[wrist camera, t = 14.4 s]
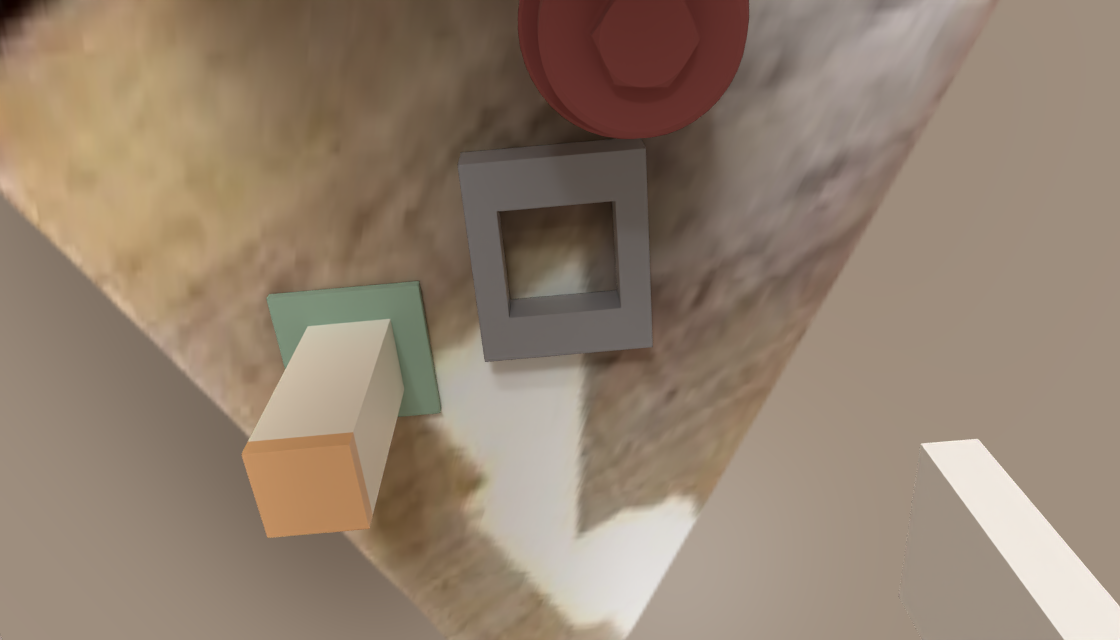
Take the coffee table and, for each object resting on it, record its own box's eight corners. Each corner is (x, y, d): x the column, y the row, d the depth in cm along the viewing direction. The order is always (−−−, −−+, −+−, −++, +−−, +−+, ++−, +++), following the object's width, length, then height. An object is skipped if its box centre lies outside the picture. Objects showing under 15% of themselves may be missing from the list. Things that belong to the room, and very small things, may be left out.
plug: (307, 326, 50) (241, 454, 38) (390, 318, 50) (348, 444, 38) (325, 396, 52) (267, 537, 40) (404, 389, 52) (369, 528, 40)
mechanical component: (723, -100, 41) (700, 105, 45) (520, -109, 40) (517, 99, 45) (796, -102, 30) (756, 168, 34) (518, -114, 29) (514, 162, 34)
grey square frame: (460, 152, 46) (457, 165, 44) (640, 136, 46) (645, 148, 44) (486, 342, 51) (484, 361, 49) (647, 327, 51) (652, 347, 49)
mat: (269, 294, 49) (266, 298, 49) (419, 281, 49) (418, 285, 49) (302, 420, 53) (300, 425, 53) (441, 407, 53) (440, 413, 53)
